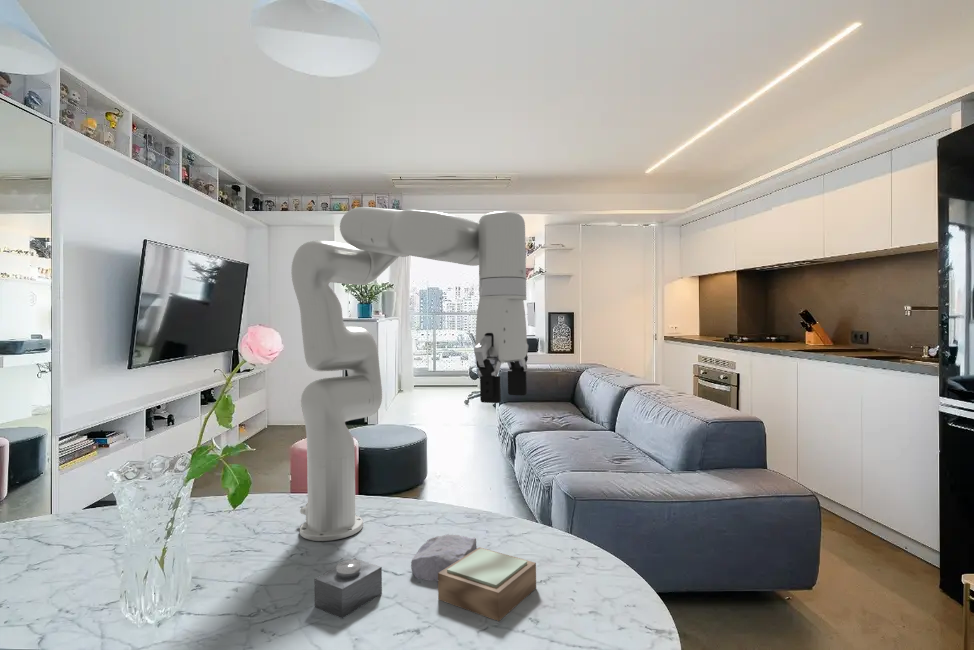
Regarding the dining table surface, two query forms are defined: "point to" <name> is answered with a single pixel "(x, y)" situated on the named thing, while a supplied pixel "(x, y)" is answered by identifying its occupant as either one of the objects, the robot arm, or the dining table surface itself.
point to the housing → (347, 587)
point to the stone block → (440, 555)
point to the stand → (487, 582)
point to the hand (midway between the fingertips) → (504, 398)
